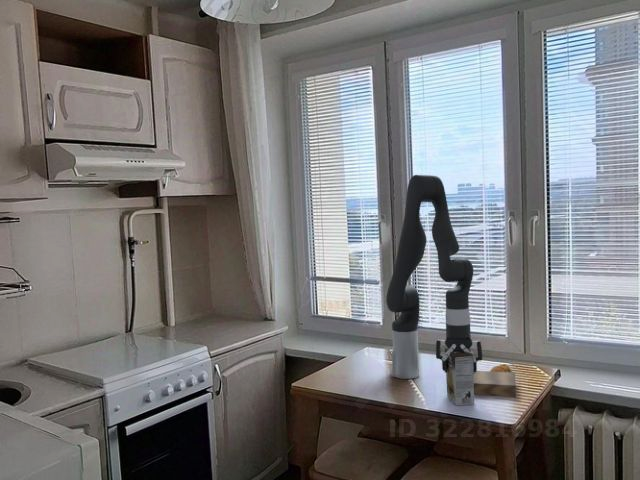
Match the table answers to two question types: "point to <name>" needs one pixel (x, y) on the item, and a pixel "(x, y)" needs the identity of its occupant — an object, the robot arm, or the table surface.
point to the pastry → (501, 368)
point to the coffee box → (460, 378)
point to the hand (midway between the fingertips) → (459, 372)
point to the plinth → (495, 384)
